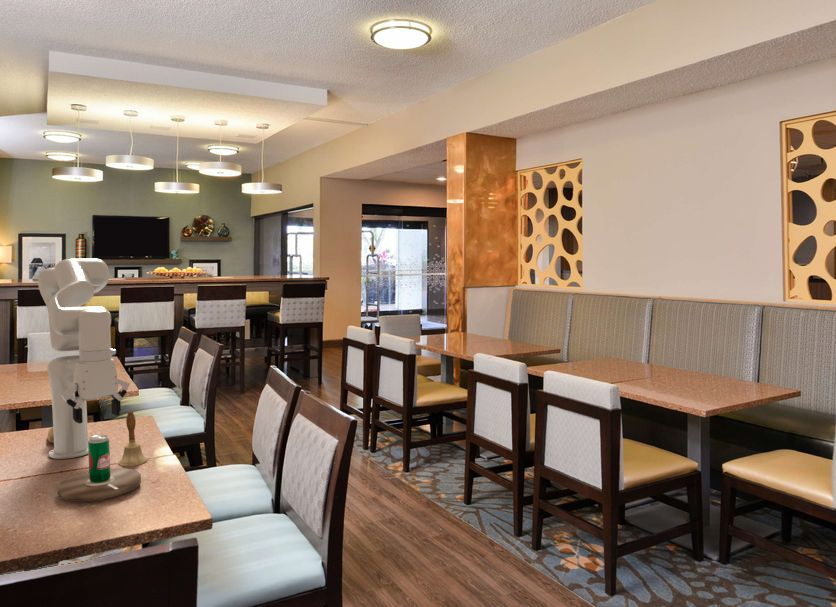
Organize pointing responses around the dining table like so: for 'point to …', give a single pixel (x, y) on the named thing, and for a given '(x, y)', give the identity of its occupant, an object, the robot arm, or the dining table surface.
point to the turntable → (99, 485)
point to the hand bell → (132, 446)
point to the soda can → (99, 459)
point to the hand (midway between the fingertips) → (97, 418)
